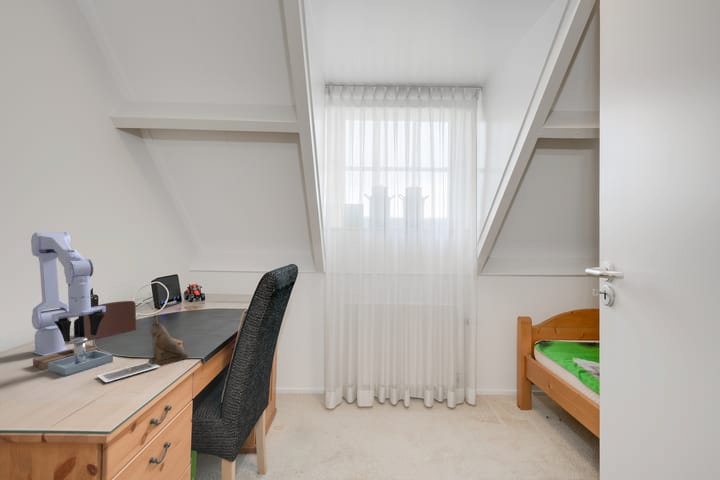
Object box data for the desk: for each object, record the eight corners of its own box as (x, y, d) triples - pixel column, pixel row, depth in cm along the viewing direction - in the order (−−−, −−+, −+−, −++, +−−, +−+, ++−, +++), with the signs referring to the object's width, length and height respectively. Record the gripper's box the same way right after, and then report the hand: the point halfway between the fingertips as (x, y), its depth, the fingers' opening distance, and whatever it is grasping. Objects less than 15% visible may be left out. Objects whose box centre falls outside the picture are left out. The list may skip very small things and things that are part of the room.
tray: (47, 370, 113) (47, 362, 113) (95, 356, 125) (95, 349, 125) (65, 376, 108) (65, 368, 108) (112, 361, 120) (112, 354, 120)
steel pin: (69, 365, 116) (68, 340, 115) (84, 360, 120) (83, 336, 119) (76, 367, 114) (75, 342, 113) (91, 362, 118) (90, 337, 117)
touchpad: (160, 369, 114) (160, 363, 114) (105, 386, 102) (105, 378, 102) (149, 364, 119) (149, 357, 119) (96, 379, 107) (96, 372, 107)
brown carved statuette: (151, 374, 116) (137, 322, 113) (149, 368, 120) (135, 319, 117) (190, 358, 123) (177, 310, 120) (186, 354, 127) (174, 307, 124)
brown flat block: (33, 366, 116) (32, 358, 116) (87, 351, 131) (87, 344, 131) (44, 370, 113) (44, 362, 113) (99, 354, 128) (99, 347, 127)
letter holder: (136, 330, 159) (135, 299, 159) (84, 342, 142) (83, 307, 142) (125, 327, 164) (124, 297, 164) (73, 338, 147) (72, 304, 147)
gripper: (59, 302, 108) (60, 346, 108) (110, 294, 121) (111, 333, 121) (47, 300, 111) (48, 343, 111) (98, 292, 124) (99, 331, 124)
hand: (80, 338), depth 116 cm, fingers open, 7 cm apart
